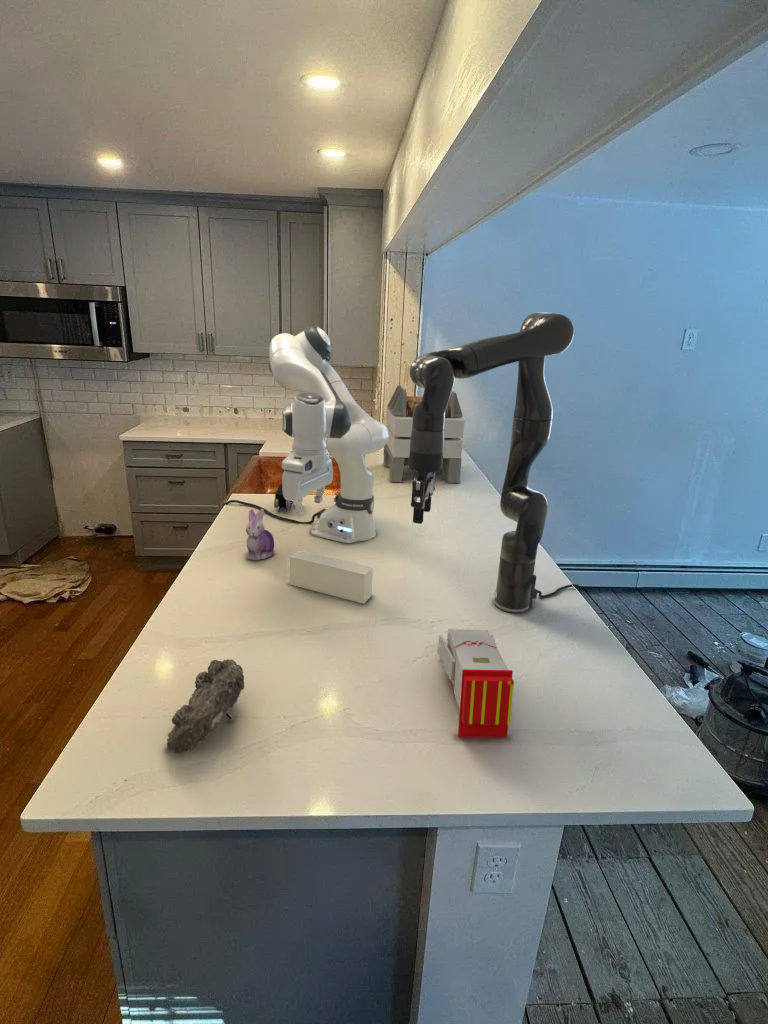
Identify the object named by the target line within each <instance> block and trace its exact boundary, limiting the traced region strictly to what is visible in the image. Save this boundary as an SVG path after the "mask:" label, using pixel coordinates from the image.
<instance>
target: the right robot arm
mask: <svg viewBox="0 0 768 1024" xmlns="http://www.w3.org/2000/svg"><path fill="white" fill-rule="evenodd" d="M574 335H575V328H574V323H573V321H572V320H571V319H570V318H569V317H568V316H567V315H565V314H562V313H559V312H558V313H557V312H541V311H540V312H539V311H537V312H532V313H530V314H528V315H527V316H526V317H525V318H524V319H523V321H522V323H521V326H520V330H519V331H518V332H514V333H509V334H503V335H496V336H490V337H484V338H481V339H477V340H474V341H471V342H467V343H465V344H463V345H462V344H461V345H460V346H457V347H452V348H449V349H448V348H446V349H442V350H436V351H431V352H427V353H425V354H422V355H420V356H417V358H415V359H414V360H413V361H412V363H411V365H410V367H409V379H410V380H411V382H412V383H413V384H414V385H416V386H417V387H419V388H422V389H424V390H423V394H422V397H423V398H422V400H421V401H418V402H417V403H415V405H414V409H413V422H412V432H411V437H410V453H409V466H408V468H409V469H410V470H411V471H413V472H416V477H414V479H413V481H412V487H411V488H412V489H411V498H410V499H411V500H410V507H411V508H413V511H412V512H413V513H412V523H414V524H419V525H422V524H423V522H424V513H430V512H431V510H432V497H433V495H434V492H435V491H436V489H435V487H436V485H435V484H436V473H438V472H439V473H440V470H441V469H442V463H443V450H444V423H445V410H446V407H447V405H448V402H449V399H450V396H451V392H453V388H454V385H455V380H456V379H468V378H472V377H474V376H477V375H481V374H483V373H486V372H489V371H492V370H495V369H497V368H500V367H503V366H507V365H510V364H514V363H517V362H518V363H517V366H518V367H517V368H518V369H517V383H516V394H515V404H514V411H513V419H512V427H511V437H510V438H511V439H510V446H509V454H508V459H507V466H506V471H505V476H504V479H503V484H502V489H501V493H500V501H499V506H500V511H501V514H503V516H504V517H506V518H508V519H510V520H511V521H514V522H516V523H517V524H516V529H515V530H512V531H508V532H505V533H504V534H503V536H502V539H501V544H500V545H501V546H500V552H499V553H500V554H499V562H498V570H497V578H496V585H495V586H496V587H495V589H494V592H493V594H494V599H493V604H494V605H495V607H497V608H498V609H500V610H501V611H504V612H507V613H511V614H519V613H520V614H521V613H525V612H527V611H528V610H529V609H531V608H533V603H534V600H535V599H536V600H537V597H539V598H540V599H544V598H545V599H546V598H549V597H552V596H554V595H556V594H558V593H559V592H560V591H562V590H565V589H568V588H573V587H574V588H577V589H579V590H582V589H583V587H582V586H581V585H579V584H577V583H571V584H567V585H563V586H561V587H558V588H557V589H556V590H555V591H553V592H550V593H548V594H544V595H543V594H542V591H540V589H539V590H538V589H537V588H536V584H537V583H536V582H537V575H536V574H535V568H536V560H537V553H538V547H539V544H540V542H541V541H542V540H541V539H542V537H543V534H544V529H545V525H546V520H547V516H548V515H547V514H548V506H549V505H548V499H547V498H546V496H545V494H543V493H542V492H540V491H538V490H535V489H533V488H530V487H529V478H530V472H531V468H532V465H533V464H534V462H535V461H536V459H537V458H538V457H539V455H540V454H541V452H542V451H543V450H544V449H545V447H546V445H547V444H548V442H549V440H550V436H551V432H552V424H553V416H554V415H553V414H554V410H553V404H552V400H551V395H550V393H549V390H548V387H547V384H546V379H545V363H546V356H554V355H555V356H556V355H560V354H562V353H563V352H565V351H566V350H567V349H568V348H569V347H570V345H571V344H572V342H573V339H574ZM418 499H420V500H419V501H418ZM572 585H573V586H572Z"/></svg>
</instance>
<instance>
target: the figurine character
mask: <svg viewBox="0 0 768 1024" xmlns="http://www.w3.org/2000/svg"><path fill="white" fill-rule="evenodd" d="M293 505H294V502H293V501H290V500H286V499H285V498H284V496H283V490H282V483H281V484H279V486H278V487H277V490H276V492H275V494H274V500H273V508H274V509H277V512H278V513H280V512H281V510H285V513H287V512H288V510H289V509H290V508H291V506H293Z"/></svg>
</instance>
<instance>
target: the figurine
mask: <svg viewBox="0 0 768 1024" xmlns="http://www.w3.org/2000/svg"><path fill="white" fill-rule="evenodd" d="M263 508H264V507H262V509H259V511H258V512H257V513H255V510H254V509H252V508H250V510H248V522H247V524H246V526H245V533H246V534H247V538H246V542H245V543H246V548H247V550H248V551H247V559H248V560H252V561H259V560H265V559H267V558H270V557H272V556H273V555H274V552H275V551H274V550H275V540H274V536H273V534H272V533H271V532H270V531H269V530H268V529H265V526H264V523H263V519H264V516H265V515H264V514H265V512H264V509H265V508H264V509H263Z"/></svg>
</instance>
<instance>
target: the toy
mask: <svg viewBox="0 0 768 1024" xmlns="http://www.w3.org/2000/svg"><path fill="white" fill-rule="evenodd" d="M446 640H447V643H446V641H445V639H444V636H443V635H442V634H439V637H438V646H437V656H438V657H439V659H440V661H441V663H442V666H443V668H444V670H445V672H446V674H447V677H448V679H449V681H450V684H451V687H452V690H453V693H454V697H455V701H456V705H457V708H458V711H459V714H458V715H459V716H458V730H457V731H458V732H457V737H458V738H508V731H509V726H510V725H511V717H512V707H513V697H514V696H513V695H514V684H515V680H514V679H513V673H514V671H513V670H512V669H508V667H507V665H506V662H505V661H504V659H503V658H502V655H501V653H500V651H499V649H498V647H497V643H496V639H495V637H494V635H493V634H491V632H490V631H489V629H467V628H466V629H465V628H463V629H461V628H460V629H459V628H448V630H447V639H446Z"/></svg>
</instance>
